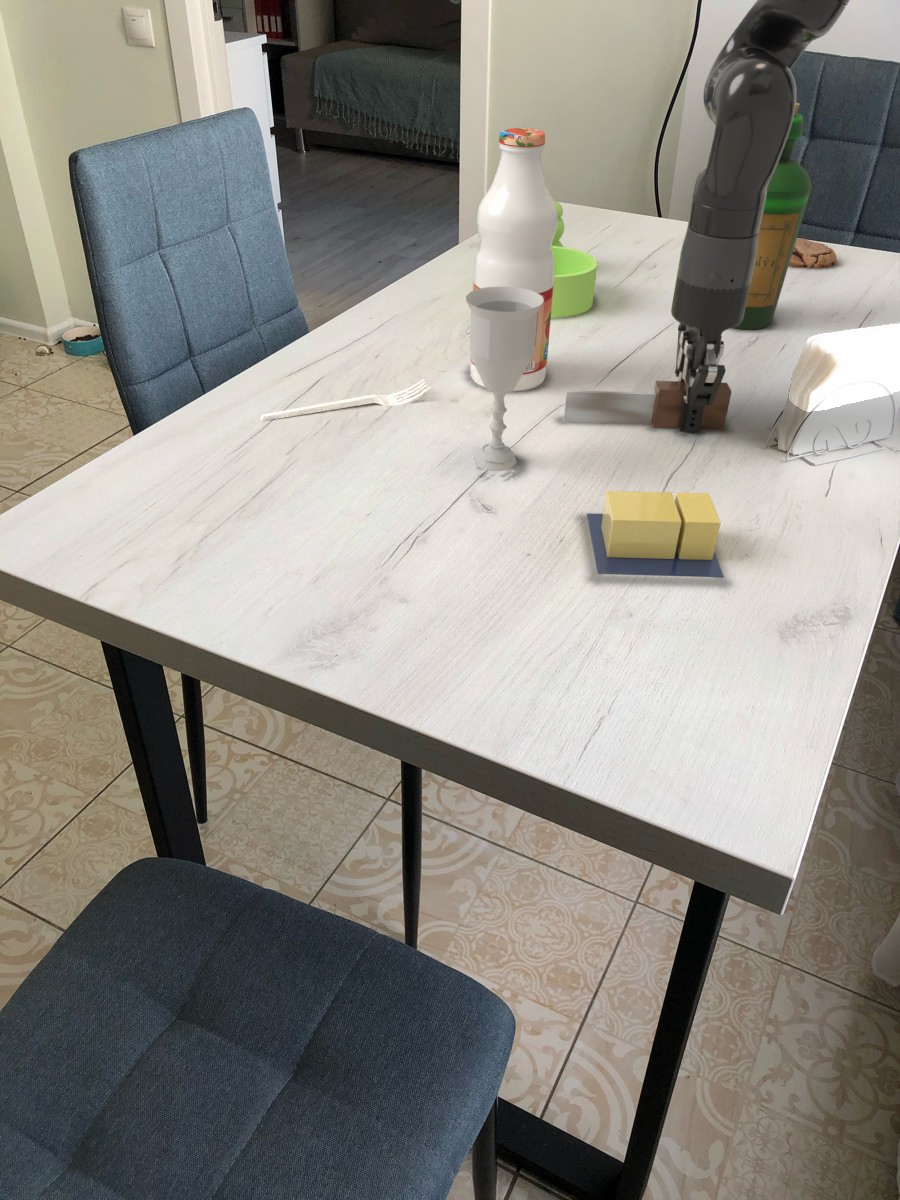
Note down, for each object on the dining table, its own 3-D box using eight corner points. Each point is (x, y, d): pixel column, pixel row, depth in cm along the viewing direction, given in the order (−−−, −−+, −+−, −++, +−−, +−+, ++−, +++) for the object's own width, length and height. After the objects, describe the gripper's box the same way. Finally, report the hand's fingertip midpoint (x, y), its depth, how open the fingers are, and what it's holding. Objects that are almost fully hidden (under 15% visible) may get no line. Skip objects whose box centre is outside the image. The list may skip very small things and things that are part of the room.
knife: (718, 423, 108) (727, 382, 105) (723, 432, 106) (731, 391, 103) (562, 418, 108) (566, 378, 105) (564, 428, 106) (568, 387, 103)
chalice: (521, 451, 102) (534, 285, 91) (537, 482, 96) (552, 309, 85) (455, 455, 101) (459, 287, 90) (467, 487, 95) (473, 313, 84)
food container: (598, 320, 133) (609, 229, 126) (496, 319, 133) (501, 227, 125) (578, 265, 153) (586, 183, 146) (489, 263, 153) (492, 181, 145)
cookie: (835, 274, 152) (840, 255, 151) (768, 266, 155) (772, 248, 153) (833, 256, 160) (838, 238, 158) (769, 249, 162) (773, 231, 161)
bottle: (687, 319, 134) (725, 101, 118) (729, 303, 140) (772, 93, 123) (751, 341, 128) (802, 114, 111) (793, 323, 134) (847, 105, 117)
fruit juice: (455, 373, 118) (460, 128, 101) (514, 358, 122) (529, 120, 105) (500, 401, 112) (514, 144, 95) (560, 383, 116) (585, 135, 99)
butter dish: (699, 525, 90) (709, 479, 87) (721, 586, 82) (733, 538, 79) (585, 521, 90) (591, 476, 87) (596, 582, 82) (603, 535, 79)
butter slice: (701, 530, 88) (709, 493, 85) (712, 560, 84) (721, 522, 81) (669, 529, 88) (676, 492, 85) (678, 559, 84) (686, 521, 81)
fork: (258, 416, 107) (256, 401, 106) (422, 392, 113) (422, 377, 112) (264, 429, 105) (262, 413, 103) (432, 403, 111) (432, 388, 110)
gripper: (768, 298, 91) (732, 456, 102) (735, 254, 102) (706, 401, 113) (690, 296, 91) (662, 455, 102) (667, 252, 102) (643, 399, 113)
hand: (685, 426), depth 107 cm, fingers closed on knife, 2 cm apart
